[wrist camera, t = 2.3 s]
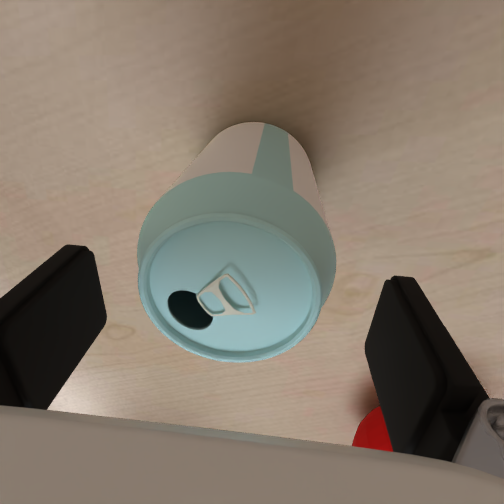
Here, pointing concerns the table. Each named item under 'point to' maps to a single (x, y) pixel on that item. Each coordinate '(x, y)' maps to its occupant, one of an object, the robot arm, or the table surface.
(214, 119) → the table surface
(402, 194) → the table surface
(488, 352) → the table surface
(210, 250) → the can
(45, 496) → the robot arm
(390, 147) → the table surface
